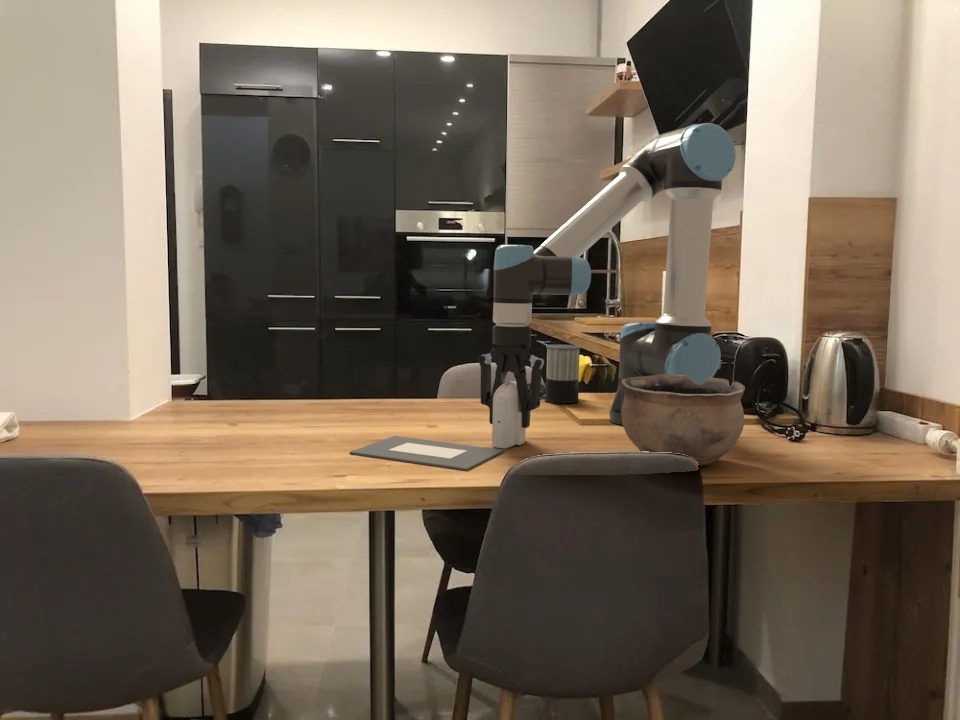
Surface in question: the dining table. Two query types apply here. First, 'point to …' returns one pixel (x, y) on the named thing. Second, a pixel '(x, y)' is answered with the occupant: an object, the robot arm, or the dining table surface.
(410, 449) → the mat
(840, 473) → the dining table surface
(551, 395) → the milk frother
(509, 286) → the robot arm
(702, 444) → the ceramic bowl
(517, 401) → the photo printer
